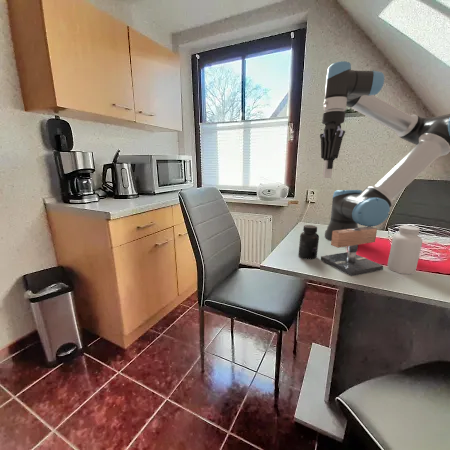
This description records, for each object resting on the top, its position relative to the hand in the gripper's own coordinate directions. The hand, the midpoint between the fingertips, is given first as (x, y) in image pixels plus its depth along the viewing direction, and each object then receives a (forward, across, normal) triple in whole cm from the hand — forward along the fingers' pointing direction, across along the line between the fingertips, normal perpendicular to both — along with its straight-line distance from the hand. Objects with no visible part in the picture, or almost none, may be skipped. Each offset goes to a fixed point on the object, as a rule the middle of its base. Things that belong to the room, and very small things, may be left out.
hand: (327, 177), depth 95 cm
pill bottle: (+30, +23, +17) cm, 41 cm away
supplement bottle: (+30, +7, -9) cm, 32 cm away
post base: (+29, +17, +3) cm, 34 cm away
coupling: (+24, +17, +3) cm, 29 cm away
